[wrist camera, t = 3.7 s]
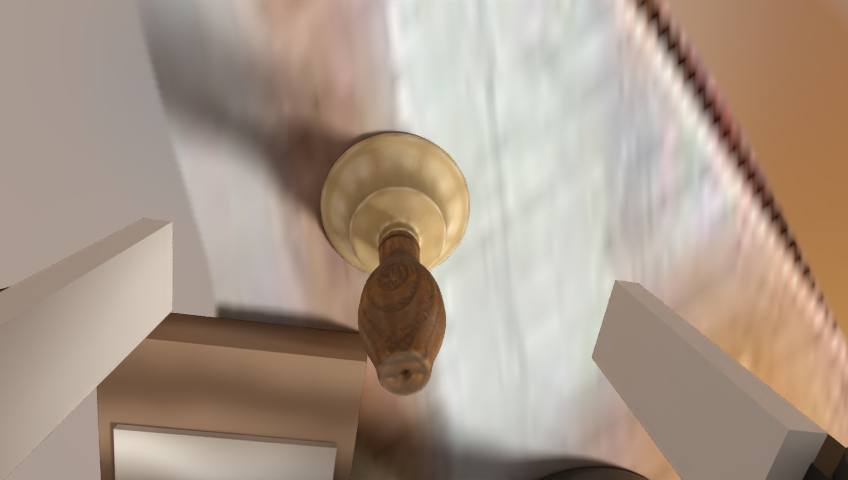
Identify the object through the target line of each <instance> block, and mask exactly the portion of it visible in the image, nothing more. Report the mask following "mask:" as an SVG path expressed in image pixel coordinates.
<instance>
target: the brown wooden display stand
mask: <svg viewBox="0 0 848 480" xmlns="http://www.w3.org/2000/svg"><path fill="white" fill-rule="evenodd" d="M366 363H367V352H366V350H365V348H364V346H363V343H362V340H361V337H360V334H356V333H348V332H339V331H330V330H321V329H312V328H303V327H294V326H285V325H276V324H268V323H259V322H250V321H241V320H232V319H223V318H214V317H205V316H196V315H187V314H178V313H169V314H168V315H167V316H166V317H165V318H164V319H163V320H162V321H161V322H160V323H159V324H158V325H157V326H156V327H155V328H154V329H153V330H152V331H151V332H150V333H149V334H148V336H147V337H146V338H145V339H144V340H143V341H142V342H141V343H140V344H139V345H138V346H137V347H136V348H135V349H134V350H133V351H132V352H131V353H130V354H129V355H128V356H127V357H126V358H125V359H124V360H123V361H122V362H121V363H120V364H119V365H118V366H117V367H116V368H115V369H114V370H113V371H112V372H111V373H110V374H109V375H108V376H107V377H106V378H105V379H104V380H103V381H102V382H101V383H100V384H99V385H98V386H97V403H98V424H99V446H100V468H101V480H350V475H351V468H352V461H353V454H354V447H355V440H356V433H357V426H358V419H359V412H360V405H361V398H362V391H363V384H364V377H365V370H366Z"/></svg>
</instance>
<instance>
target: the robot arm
mask: <svg viewBox="0 0 848 480" xmlns="http://www.w3.org/2000/svg"><path fill="white" fill-rule="evenodd" d="M171 311H172V222H171V221H163V220H155V219H148V218H142V219H140V220H139V221H137V222H135V223H133V224H131V225H129V226H127V227H125V228H123V229H121V230H119V231H117V232H115V233H114V234H112V235H110V236H108V237H106V238H104V239H102V240H100V241H98V242H96V243H94V244H92V245H90V246H88V247H86V248H85V249H82V250H81V251H79V252H77V253H75V254H73V255H71V256H69V257H67V258H65V259H63V260H61V261H59V262H57V263H56V264H53V265H52V266H50V267H48V268H46V269H44V270H42V271H40V272H38V273H36V274H34V275H32V276H30V277H28V278H27V279H24V280H23V281H21V282H19V283H17V284H15V285H13V286H11V287H7V288H3V289H0V480H4V479H5V478H6V477H7V476H8V475H9V474H10V473H11V472H12V471H13V470H14V469H15V468H16V467H17V466H18V465H19V464H20V463H21V462H22V461H23V460H24V459H25V458H26V457H27V456H28V455H29V454H30V453H31V452H32V451H33V450H34V449H35V448H36V447H37V446H38V445H39V444H40V443H41V442H42V441H43V440H44V439H45V438H46V437H47V436H48V435H49V434H50V433H51V432H52V431H53V430H54V429H55V428H56V427H57V426H58V425H59V424H60V423H61V422H62V421H63V420H64V419H65V418H66V417H67V416H68V415H69V414H70V413H71V412H72V411H73V410H74V409H75V408H76V407H77V406H78V405H79V404H80V403H81V402H82V401H83V400H84V399H85V398H86V397H87V396H88V395H89V394H90V393H91V392H92V391H93V390H94V389H95V388H96V387H97V386H98V385H99V384H100V383H101V382H102V381H103V380H104V379H105V378H106V377H107V376H108V375H109V374H110V373H111V372H112V371H113V370H114V369H115V368H116V367H117V366H118V365H119V364H120V363H121V362H122V361H123V360H124V359H125V358H126V357H127V356H128V355H129V354H130V353H131V352H132V351H133V350H134V349H135V348H136V347H137V346H138V345H139V344H140V343H141V342H142V341H143V340H144V339H145V338H146V337H147V336H148V334H149V333H150V332H151V331H152V330H153V329H154V328H155V327H156V326H157V325H158V324H159V323H160V322H161V321H162V320H163V319H164V318H165V317H166V316H167V315H168V314H169V313H170V312H171ZM592 359H593V360H594V361H595V363H596V364H597V365H598V367H599V368H600V369H601V371H602V372H603V374H604V375H605V376H606V378H607V379H608V380H609V382H610V383H611V384H612V386H613V387H614V388H615V390H616V391H617V392H618V394H619V395H620V397H621V398H622V399H623V401H624V402H625V403H626V405H627V406H628V407H629V409H630V410H631V411H632V413H633V414H634V416H635V417H636V418H637V420H638V421H639V422H640V424H641V425H642V426H643V428H644V429H645V430H646V432H647V433H648V434H649V436H650V437H651V439H652V440H653V441H654V443H655V444H656V445H657V447H658V448H659V449H660V451H661V452H662V453H663V455H664V456H665V457H666V459H667V460H668V462H669V463H670V464H671V466H672V467H673V468H674V470H675V471H676V472H677V474H678V475H679V476H680V478H681V479H682V480H848V448H845V447H844V446H843V445H841V444H840V443H839V442H838V441H836V440H835V439H834V438H833V437H831V436H830V435H829V434H828V433H827V432H826V431H824V430H823V429H822V428H821V427H819V426H818V425H817V424H816V423H814V422H813V421H812V420H811V419H809V418H808V417H807V416H806V415H804V414H803V413H802V412H800V411H799V410H798V409H797V408H795V407H794V406H793V405H792V404H790V403H789V402H788V401H787V400H785V399H784V398H783V397H782V396H780V395H779V394H778V393H776V392H775V391H774V390H773V389H771V388H770V387H769V386H768V385H766V384H765V383H764V382H763V381H761V380H760V379H759V378H758V377H756V376H755V375H754V374H752V373H751V372H750V371H749V370H747V369H746V368H745V367H744V366H742V365H741V364H740V363H739V362H737V361H736V360H735V359H734V358H732V357H731V356H730V355H729V354H727V353H726V352H725V351H723V350H722V349H721V348H720V347H718V346H717V345H716V344H715V343H713V342H712V341H711V340H710V339H708V338H707V337H706V336H705V335H703V334H702V333H701V332H699V331H698V330H697V329H696V328H694V327H693V326H692V325H691V324H689V323H688V322H687V321H686V320H684V319H683V318H682V317H681V316H679V315H678V314H677V313H675V312H674V311H673V310H672V309H670V308H669V307H668V306H667V305H665V304H664V303H663V302H662V301H660V300H659V299H658V298H657V297H655V296H654V295H653V294H652V293H650V292H649V291H648V290H646V289H645V288H644V287H643V286H641V285H640V284H639V283H633V282H626V281H618V280H615V283H614V286H613V290H612V293H611V296H610V299H609V303H608V306H607V309H606V312H605V315H604V319H603V322H602V325H601V328H600V332H599V335H598V338H597V341H596V345H595V348H594V351H593V354H592ZM542 480H647V479H645V478H644V477H641V476H639V475H637V474H634V473H631V472H627V471H624V470H619V469H612V468H583V469H575V470H570V471H566V472H562V473H558V474H555V475H552V476H550V477H547V478H545V479H542Z"/></svg>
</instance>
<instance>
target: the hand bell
mask: <svg viewBox="0 0 848 480" xmlns="http://www.w3.org/2000/svg"><path fill="white" fill-rule="evenodd" d="M469 213H470V199H469V192H468V188H467V184H466V181H465V178H464V176H463V174H462V172H461V170H460V169H459V167H458V166H457V164H456V163H455V161H454V160H453V159H452V158H451V157H450V156H449V154H448V153H446V152H445V151H444V150H443V149H441V148H440V147H439V146H437V145H435V144H434V143H432V142H430V141H429V140H426V139H424V138H421V137H418V136H415V135H411V134H406V133H385V134H380V135H375V136H372V137H369V138H367V139H364V140H362V141H360V142H358V143H356V144H355V145H353V146H352V147H350V148H349V149H347V151H346V152H345V153H343V154H342V155H341V156H340V157H339V158H338V159H337V161H336V162H335V163H334V165H333V166H332V168H331V169H330V171H329V173H328V175H327V177H326V180H325V182H324V185H323V189H322V194H321V217H322V222H323V226H324V229H325V232H326V234H327V236H328V239H329V240H330V242H331V244H332V245H333V247H334V248H335V249H336V251H337V252H338V253H339V254H340V255H341V256H342V257H343V258H344V259H345V260H346V261H347V262H349V263H350V264H351V265H353V266H354V267H356V268H358V269H359V270H361V271H363V272H365V273H368V274H371V275H370V276H369V278H368V279H367V282H366V284H365V286H364V289H363V291H362V295H361V299H360V304H359V310H358V327H359V333H360V337H361V340H362V343H363V346H364V348H365V350H366V352H367V354H368V356H369V358H370V359H371V361H372V363H373V364H374V366H375V368H376V371H377V375H378V379H379V381H380V383H381V385H382V386H383V387H384V388H385V389H387V390H388V391H390V392H391V393H393V394H396V395H399V396H406V395H412V394H415V393H417V392H419V391H421V390H422V389H423V388H424V387H425V386H426V385H427V383H428V381H429V379H430V377H431V371H432V366H433V363H434V360H435V358H436V356H437V354H438V352H439V350H440V348H441V345H442V341H443V338H444V334H445V328H446V314H445V308H444V303H443V299H442V295H441V292H440V289H439V287H438V285H437V283H436V281H435V279H434V278H433V276H432V275H431V273H430V272H429V270H431V269H433V268H434V267H436V266H438V265H439V264H440V263H442V262H443V261H444V260H445V259H446V258H447V257H449V255H450V254H451V253H452V252H453V251H454V250H455V248H456V247H457V246H458V244H459V243H460V241H461V239H462V237H463V235H464V233H465V230H466V227H467V224H468V219H469Z"/></svg>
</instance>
